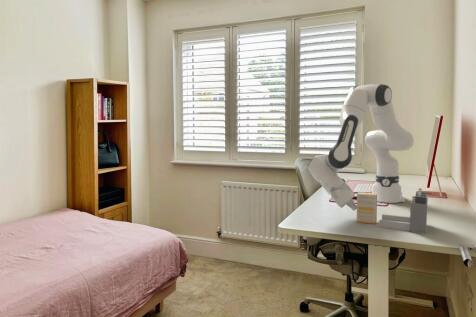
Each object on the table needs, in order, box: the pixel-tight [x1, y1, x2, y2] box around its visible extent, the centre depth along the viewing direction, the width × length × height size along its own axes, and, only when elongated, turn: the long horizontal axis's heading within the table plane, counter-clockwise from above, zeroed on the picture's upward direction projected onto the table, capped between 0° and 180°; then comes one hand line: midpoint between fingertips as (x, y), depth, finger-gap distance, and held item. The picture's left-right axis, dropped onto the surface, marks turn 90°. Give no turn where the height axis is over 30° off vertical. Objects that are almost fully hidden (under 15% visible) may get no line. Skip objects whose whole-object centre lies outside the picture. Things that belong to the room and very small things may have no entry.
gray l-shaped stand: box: [378, 187, 429, 234], centre depth 160 cm, size 14×18×16 cm
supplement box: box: [356, 191, 378, 225], centre depth 167 cm, size 8×5×13 cm, turn 63°
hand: (355, 209), depth 169 cm, fingers closed, pressing on supplement box
